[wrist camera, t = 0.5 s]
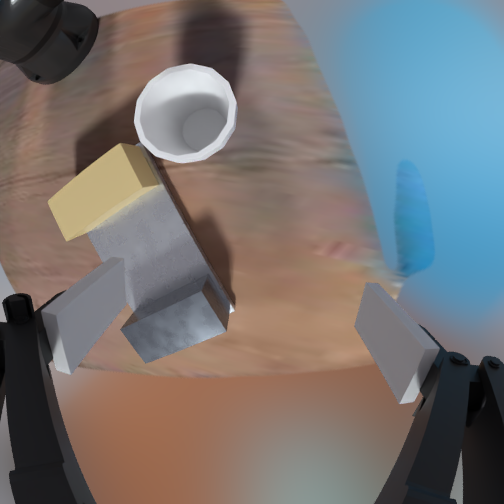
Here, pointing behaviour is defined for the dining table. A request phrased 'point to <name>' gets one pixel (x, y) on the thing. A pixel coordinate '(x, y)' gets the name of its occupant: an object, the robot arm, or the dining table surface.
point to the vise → (163, 274)
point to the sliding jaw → (102, 190)
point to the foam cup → (186, 113)
